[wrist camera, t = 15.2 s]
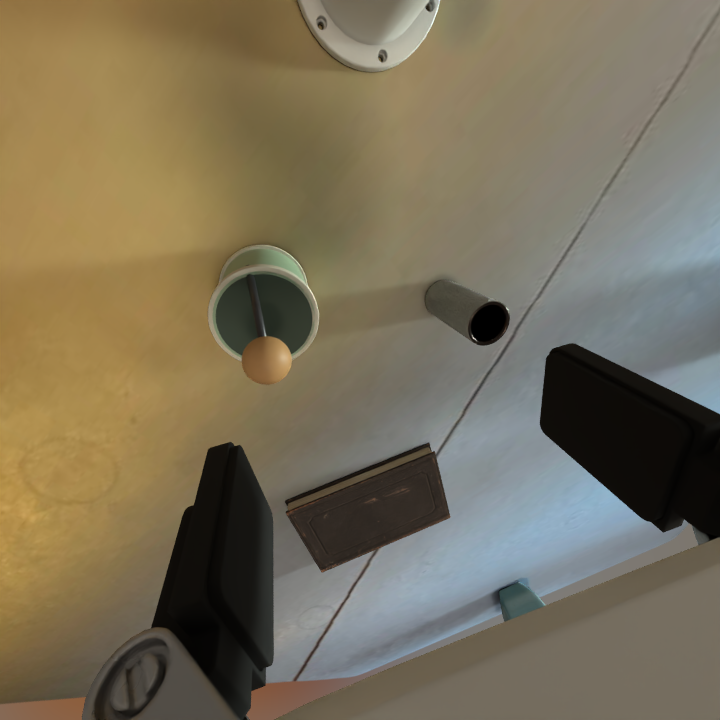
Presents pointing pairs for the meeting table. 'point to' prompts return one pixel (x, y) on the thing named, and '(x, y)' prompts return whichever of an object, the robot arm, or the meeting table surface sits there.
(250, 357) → the green hollow rimmed cylinder
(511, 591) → the flower pot
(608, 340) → the meeting table surface
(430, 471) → the hardcover book
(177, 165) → the meeting table surface
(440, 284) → the grey hollow tube
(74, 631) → the meeting table surface
